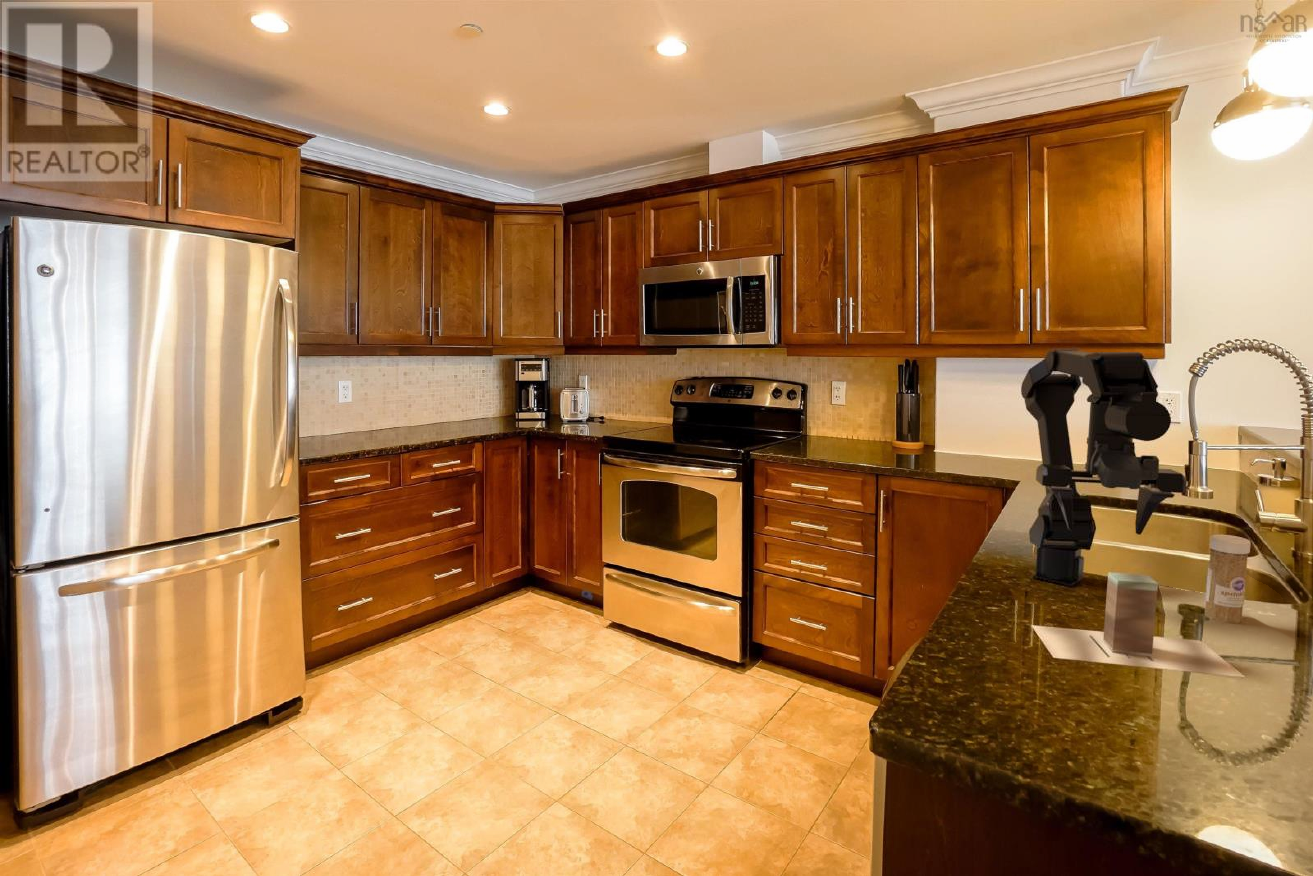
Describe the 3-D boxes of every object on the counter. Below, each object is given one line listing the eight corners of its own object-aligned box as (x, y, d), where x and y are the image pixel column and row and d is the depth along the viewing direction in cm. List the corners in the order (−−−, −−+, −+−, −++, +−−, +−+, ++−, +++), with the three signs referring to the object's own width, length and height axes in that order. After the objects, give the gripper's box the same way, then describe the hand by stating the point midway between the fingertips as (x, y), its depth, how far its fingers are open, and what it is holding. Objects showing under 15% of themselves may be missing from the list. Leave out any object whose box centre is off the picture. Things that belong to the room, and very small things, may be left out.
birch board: (1053, 664, 87) (1053, 657, 87) (1031, 631, 97) (1031, 625, 97) (1244, 685, 81) (1245, 677, 81) (1199, 647, 92) (1200, 640, 91)
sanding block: (1112, 652, 88) (1117, 580, 87) (1103, 641, 91) (1108, 572, 90) (1151, 656, 87) (1157, 583, 85) (1141, 645, 90) (1146, 575, 89)
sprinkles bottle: (1228, 631, 97) (1236, 543, 95) (1195, 620, 101) (1202, 535, 99) (1249, 627, 98) (1258, 540, 96) (1216, 616, 102) (1224, 532, 101)
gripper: (1053, 437, 97) (1046, 539, 99) (1207, 441, 91) (1197, 551, 93) (1038, 429, 108) (1032, 522, 110) (1175, 433, 101) (1167, 531, 103)
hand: (1103, 531), depth 104 cm, fingers open, 9 cm apart
